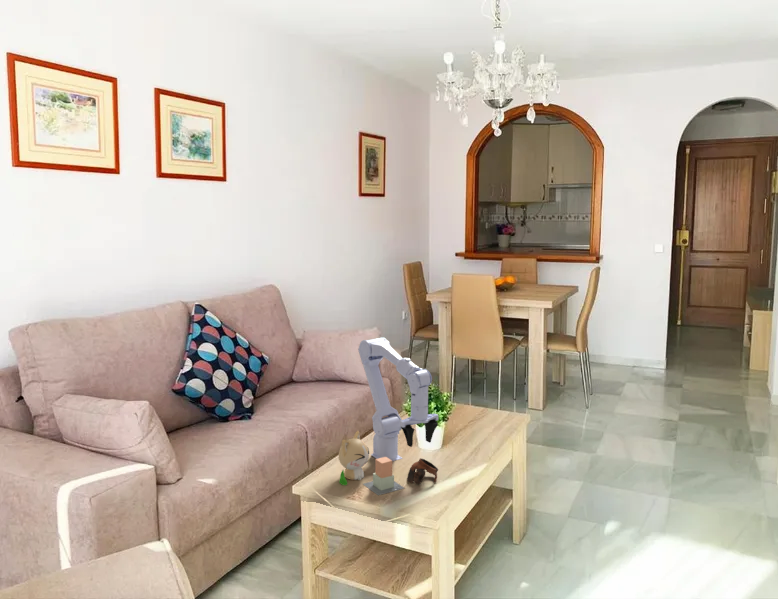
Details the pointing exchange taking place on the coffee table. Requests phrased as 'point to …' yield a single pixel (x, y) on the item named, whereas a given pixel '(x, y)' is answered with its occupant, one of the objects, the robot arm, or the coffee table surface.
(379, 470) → the brick
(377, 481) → the brick
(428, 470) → the brown ring with handle
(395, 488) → the plate
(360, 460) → the kitten
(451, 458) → the coffee table surface
